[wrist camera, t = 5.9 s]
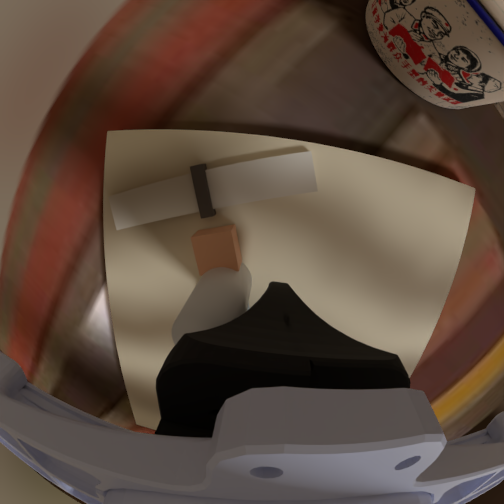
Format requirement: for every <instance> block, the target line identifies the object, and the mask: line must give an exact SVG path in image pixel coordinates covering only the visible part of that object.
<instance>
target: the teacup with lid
mask: <svg viewBox="0 0 504 504" xmlns="http://www.w3.org/2000/svg"><path fill="white" fill-rule="evenodd" d="M366 25H367V30H368V33H369V36H370V39H371V41H372V43H373V45H374V48H375V49H376V51H377V53H378V54H379V56H380V57H381V59H382V60H383V62H384V63H385V64H386V66H387V67H388V68H389V69H390V71H391V72H392V73H393V74H394V75H395V76H396V77H397V78H398V79H399V80H400V81H401V82H402V83H403V84H404V85H405V86H406V87H408V88H409V89H410V90H411V91H413V92H414V93H415V94H417V95H418V96H420V97H421V98H423V99H425V100H427V101H429V102H431V103H433V104H435V105H438V106H441V107H444V108H450V109H462V108H467V107H472V106H478V105H484V104H490V103H494V105H495V106H496V108H497V110H498V111H499V113H500V114H501V116H502V117H503V119H504V0H369V2H368V5H367V8H366Z"/></svg>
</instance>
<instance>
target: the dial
mask: <svg viewBox="0 0 504 504" xmlns="http://www.w3.org/2000/svg"><path fill="white" fill-rule="evenodd" d="M190 238H191V242H192V246H193V250H194V254H195V259H196V263H197V267H198V271H199V275H200V276H201V278H200V280H199V281H198V283H197V285H196V286H195V288H194V290H193V291H192V293H191V295H190V296H189V298H188V300H187V301H186V303H185V305H184V306H183V308H182V310H181V311H180V313H179V315H178V316H177V318H176V320H175V322H174V323H173V326H172V339H173V342H174V344H175V345H176V343H177V342H178V341H179V340H180V338H181V337H182V336H183V335H184V334H185V333H192V332H197V331H202V330H207V329H211V328H214V327H217V326H220V325H223V324H225V323H228V322H230V321H232V320H233V319H235V318H237V317H239V316H240V315H242V314H243V313H245V312H246V311H247V310H248V309H250V307H249V297H250V291H251V286H252V276H251V273H250V271H249V269H248V268H247V266H246V265H245V264H244V263H242V257H241V252H240V246H239V241H238V236H237V231H236V226H235V224H233V225H227V226H221V227H215V228H209V229H203V230H198V231H197V232H196V233H195V234H194V235H193V236H192V237H190Z"/></svg>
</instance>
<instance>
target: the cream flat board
mask: <svg viewBox="0 0 504 504" xmlns="http://www.w3.org/2000/svg"><path fill="white" fill-rule="evenodd" d="M474 195H475V188H472V187H470V186H467V185H465V184H462V183H460V182H457V181H454V180H452V179H449V178H446V177H443V176H440V175H437V174H434V173H431V172H428V171H425V170H422V169H419V168H416V167H413V166H409V165H406V164H402V163H399V162H395V161H392V160H388V159H384V158H380V157H377V156H373V155H368V154H364V153H360V152H356V151H351V150H347V149H342V148H337V147H332V146H327V145H322V144H316V143H311V142H305V141H298V140H292V139H285V138H278V137H270V136H262V135H253V134H243V133H232V132H219V131H202V130H170V129H148V130H117V131H107V140H106V151H105V166H104V189H103V227H104V250H105V265H106V276H107V286H108V295H109V303H110V310H111V317H112V324H113V330H114V335H115V341H116V346H117V351H118V356H119V361H120V365H121V370H122V374H123V378H124V382H125V386H126V390H127V394H128V398H129V401H130V405H131V408H132V411H133V415H134V418H135V421H136V424H137V425H140V426H144V427H147V428H150V429H153V430H156V429H157V427H158V424H159V422H160V420H161V415H160V410H159V405H158V399H157V393H156V378H157V376H158V374H159V372H160V370H161V368H162V366H163V363H164V361H165V359H166V358H167V356H168V354H169V353H170V351H171V350H172V349H173V347H174V346H175V344H174V342H173V339H172V326H173V323H174V322H175V320H176V318H177V316H178V315H179V313H180V311H181V310H182V308H183V306H184V305H185V303H186V301H187V300H188V298H189V296H190V295H191V293H192V291H193V290H194V288H195V286H196V285H197V283H198V281H199V280H200V278H201V276H200V275H199V271H198V267H197V263H196V259H195V254H194V250H193V246H192V242H191V238H190V237H192V236H193V235H194V234H195V233H196V232H197V231H198V230H203V229H209V228H215V227H221V226H227V225H233V224H235V226H236V231H237V236H238V241H239V246H240V252H241V257H242V263H244V264H245V265H246V266H247V268H248V269H249V271H250V273H251V276H252V286H251V291H250V297H249V307H250V308H251V307H252V306H253V305H254V304H255V303H256V302H257V301H258V300H259V299H260V298H261V296H262V295H263V294H264V293H265V291H266V290H267V288H268V286H269V283H270V282H272V281H275V282H282V283H288V284H289V285H290V287H291V288H292V289H293V290H294V292H295V293H296V294H297V295H298V296H299V297H300V299H301V300H302V301H303V302H304V303H305V304H306V305H307V306H308V307H309V308H310V309H311V310H312V311H313V312H314V313H315V314H316V315H318V316H319V317H320V318H321V319H322V320H324V321H325V322H327V323H328V324H329V325H331V326H332V327H334V328H335V329H337V330H338V331H340V332H342V333H344V334H345V335H347V336H349V337H351V338H353V339H355V340H357V341H359V342H362V343H364V344H366V345H369V346H371V347H374V348H377V349H380V350H383V351H387V352H390V353H393V354H397V355H398V356H399V358H400V360H401V362H402V364H403V366H404V367H405V369H406V371H407V373H408V375H409V378H410V376H411V374H412V372H413V371H414V369H415V367H416V365H417V363H418V361H419V359H420V357H421V355H422V353H423V351H424V349H425V347H426V345H427V343H428V341H429V339H430V337H431V335H432V332H433V330H434V328H435V326H436V323H437V321H438V319H439V316H440V314H441V311H442V309H443V306H444V304H445V301H446V299H447V296H448V293H449V290H450V288H451V285H452V282H453V279H454V276H455V273H456V270H457V267H458V263H459V260H460V257H461V253H462V249H463V246H464V242H465V238H466V234H467V230H468V225H469V221H470V216H471V211H472V206H473V201H474Z"/></svg>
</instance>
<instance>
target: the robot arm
mask: <svg viewBox="0 0 504 504" xmlns="http://www.w3.org/2000/svg"><path fill="white" fill-rule="evenodd" d="M156 393H157V399H158V405H159V410H160V415H161V420H160V422H159V424H158V427H157V429H156V432H155V434H147V433H139V432H134V431H131V430H128V429H125V428H122V427H119V426H117V425H114V424H111V423H109V422H106V421H104V420H101V419H99V418H97V417H94V416H92V415H90V414H87V413H85V412H83V411H81V410H79V409H77V408H74V407H72V406H70V405H68V404H66V403H64V402H62V401H60V400H59V399H57V398H55V397H53V396H51V395H49V394H47V393H46V392H44V391H42V390H40V389H39V388H37V387H35V386H34V385H32V384H30V383H29V382H27V379H26V376H25V374H24V372H23V370H22V368H21V367H20V366H19V364H18V363H17V362H15V361H14V360H13V359H11V358H10V357H8V356H7V355H5V354H4V353H2V352H1V351H0V442H1V443H2V444H3V445H4V446H6V447H7V448H8V449H9V450H10V451H12V452H13V453H14V454H15V455H16V456H17V457H19V458H20V459H21V460H23V461H24V462H25V463H26V464H28V465H29V466H30V467H32V468H33V469H34V470H36V471H37V472H38V473H40V474H41V475H42V476H44V477H45V478H47V479H48V480H50V481H51V482H53V483H54V484H56V485H57V486H59V487H60V488H62V489H63V490H65V491H67V492H68V493H70V494H72V495H73V496H75V497H77V498H78V499H80V500H82V501H84V502H86V503H87V504H465V503H466V502H468V501H470V500H472V499H474V498H476V497H477V496H479V495H481V494H482V493H484V492H486V491H488V490H489V489H491V488H493V487H494V486H496V485H497V484H499V483H500V482H501V481H502V480H504V412H501V413H500V414H498V415H497V416H496V417H495V418H494V419H493V420H492V421H491V422H490V423H489V425H488V426H487V428H486V429H484V430H481V431H478V432H475V433H473V434H470V435H467V436H464V437H461V438H458V439H454V440H451V441H448V442H447V441H446V438H445V435H444V433H443V431H442V429H441V426H440V424H439V422H438V420H437V418H436V416H435V414H434V412H433V409H432V407H431V405H430V403H429V401H428V399H427V397H426V395H425V393H424V391H420V390H414V389H410V379H409V375H408V373H407V371H406V369H405V367H404V366H403V364H402V362H401V360H400V358H399V356H398V355H397V354H393V353H390V352H387V351H383V350H380V349H377V348H374V347H371V346H369V345H366V344H364V343H362V342H359V341H357V340H355V339H353V338H351V337H349V336H347V335H345V334H344V333H342V332H340V331H338V330H337V329H335V328H334V327H332V326H331V325H329V324H328V323H327V322H325V321H324V320H322V319H321V318H320V317H319V316H318V315H316V314H315V313H314V312H313V311H312V310H311V309H310V308H309V307H308V306H307V305H306V304H305V303H304V302H303V301H302V300H301V299H300V297H299V296H298V295H297V294H296V293H295V292H294V290H293V289H292V288H291V287H290V285H289V284H288V283H282V282H275V281H272V282H270V283H269V286H268V288H267V290H266V291H265V293H264V294H263V295H262V296H261V298H260V299H259V300H258V301H257V302H256V303H255V304H254V305H253V306H252V307H251V308H250V309H248V310H247V311H246V312H245V313H243V314H242V315H240V316H239V317H237V318H235V319H233V320H232V321H230V322H228V323H225V324H223V325H220V326H217V327H214V328H211V329H207V330H202V331H197V332H192V333H185V334H184V335H183V336H182V337H181V338H180V340H179V341H178V342H177V343H176V345H175V346H174V347H173V349H172V350H171V351H170V353H169V354H168V356H167V358H166V359H165V361H164V363H163V366H162V368H161V370H160V372H159V374H158V376H157V378H156Z"/></svg>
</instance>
